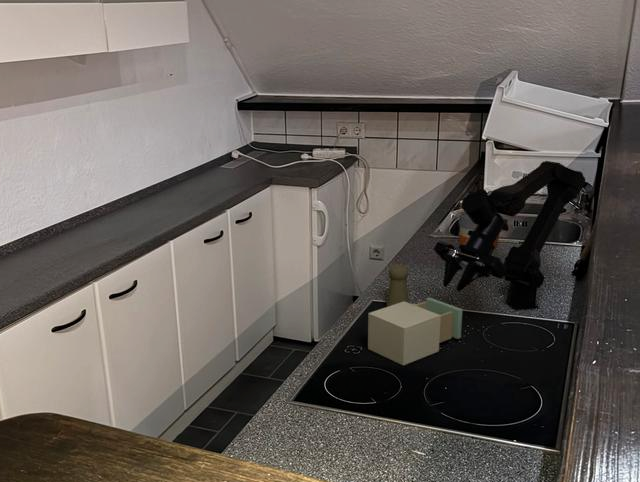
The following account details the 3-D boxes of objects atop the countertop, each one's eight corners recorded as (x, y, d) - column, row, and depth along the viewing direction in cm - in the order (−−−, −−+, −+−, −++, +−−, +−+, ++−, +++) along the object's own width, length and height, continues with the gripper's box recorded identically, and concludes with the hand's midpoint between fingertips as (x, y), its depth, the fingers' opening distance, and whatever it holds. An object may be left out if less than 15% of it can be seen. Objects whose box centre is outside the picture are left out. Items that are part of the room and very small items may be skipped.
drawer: (431, 323, 190) (432, 296, 187) (464, 336, 182) (466, 308, 179) (397, 335, 183) (398, 307, 181) (430, 349, 176) (431, 320, 173)
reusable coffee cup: (449, 265, 234) (452, 217, 228) (464, 254, 243) (467, 208, 238) (489, 271, 227) (493, 222, 222) (503, 259, 237) (507, 213, 231)
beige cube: (403, 336, 185) (404, 301, 182) (438, 351, 177) (440, 315, 173) (367, 349, 179) (368, 313, 176) (403, 365, 170) (404, 328, 167)
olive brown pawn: (408, 309, 201) (409, 270, 197) (385, 308, 202) (386, 269, 198) (409, 301, 207) (410, 262, 203) (387, 300, 208) (388, 262, 204)
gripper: (529, 261, 182) (496, 315, 180) (468, 244, 196) (436, 294, 194) (511, 236, 175) (476, 292, 173) (449, 220, 189) (416, 272, 187)
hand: (451, 288), depth 182 cm, fingers open, 4 cm apart
